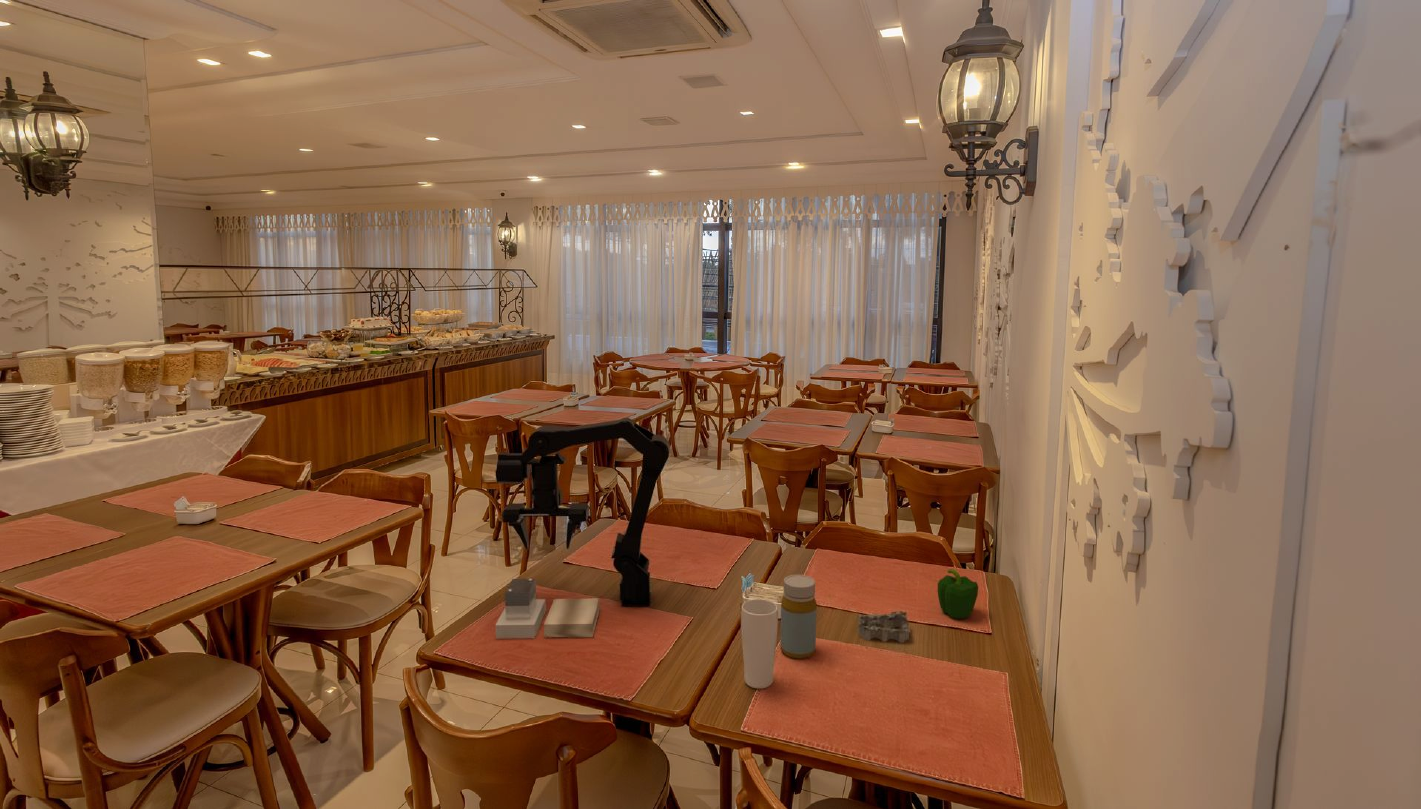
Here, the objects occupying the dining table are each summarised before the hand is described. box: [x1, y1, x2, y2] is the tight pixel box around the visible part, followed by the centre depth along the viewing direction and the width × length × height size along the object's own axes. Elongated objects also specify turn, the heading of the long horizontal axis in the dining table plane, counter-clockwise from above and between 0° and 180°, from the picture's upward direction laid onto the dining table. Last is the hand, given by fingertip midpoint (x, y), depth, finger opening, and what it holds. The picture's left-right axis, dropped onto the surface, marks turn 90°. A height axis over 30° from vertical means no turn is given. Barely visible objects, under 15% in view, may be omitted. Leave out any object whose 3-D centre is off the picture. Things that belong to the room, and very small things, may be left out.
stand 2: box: [543, 597, 600, 639], centre depth 156 cm, size 10×12×3 cm
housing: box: [504, 577, 537, 620], centre depth 155 cm, size 5×7×6 cm
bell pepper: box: [937, 568, 979, 620], centre depth 160 cm, size 8×8×10 cm
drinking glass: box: [740, 598, 779, 689], centre depth 133 cm, size 7×7×15 cm
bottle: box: [780, 574, 818, 660], centre depth 144 cm, size 7×7×15 cm
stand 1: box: [495, 598, 547, 640], centre depth 156 cm, size 8×12×3 cm, turn 2°
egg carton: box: [857, 610, 911, 644], centre depth 152 cm, size 11×8×4 cm
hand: (547, 548), depth 165 cm, fingers open, 9 cm apart
